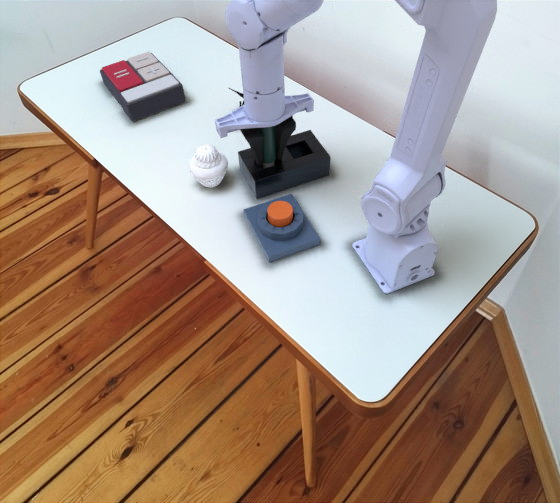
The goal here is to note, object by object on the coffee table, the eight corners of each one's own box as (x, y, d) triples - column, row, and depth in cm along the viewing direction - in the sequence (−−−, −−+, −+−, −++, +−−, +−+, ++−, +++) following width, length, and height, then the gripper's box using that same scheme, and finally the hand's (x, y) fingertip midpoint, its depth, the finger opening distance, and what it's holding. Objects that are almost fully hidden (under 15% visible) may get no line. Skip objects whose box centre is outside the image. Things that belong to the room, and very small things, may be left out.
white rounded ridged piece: (185, 178, 84) (177, 144, 79) (218, 162, 86) (212, 129, 81) (204, 200, 81) (197, 167, 75) (237, 183, 83) (233, 150, 78)
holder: (329, 175, 84) (330, 156, 80) (256, 199, 81) (254, 181, 78) (310, 148, 88) (310, 129, 85) (239, 170, 85) (237, 151, 82)
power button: (296, 222, 74) (296, 214, 73) (273, 230, 73) (273, 222, 72) (286, 205, 76) (286, 197, 75) (264, 213, 75) (263, 205, 74)
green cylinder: (279, 175, 82) (277, 124, 74) (264, 180, 82) (260, 129, 74) (273, 165, 84) (270, 114, 76) (258, 169, 83) (253, 119, 75)
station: (319, 244, 75) (320, 231, 72) (269, 263, 73) (268, 250, 71) (291, 199, 81) (291, 185, 78) (243, 215, 79) (242, 201, 76)
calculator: (150, 48, 102) (182, 80, 94) (155, 68, 105) (186, 101, 97) (97, 66, 99) (125, 101, 90) (104, 86, 102) (132, 122, 93)
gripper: (299, 54, 74) (299, 131, 84) (203, 80, 70) (215, 156, 81) (321, 80, 70) (318, 157, 80) (220, 109, 66) (231, 185, 77)
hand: (268, 158), depth 80 cm, fingers closed on green cylinder, 3 cm apart
